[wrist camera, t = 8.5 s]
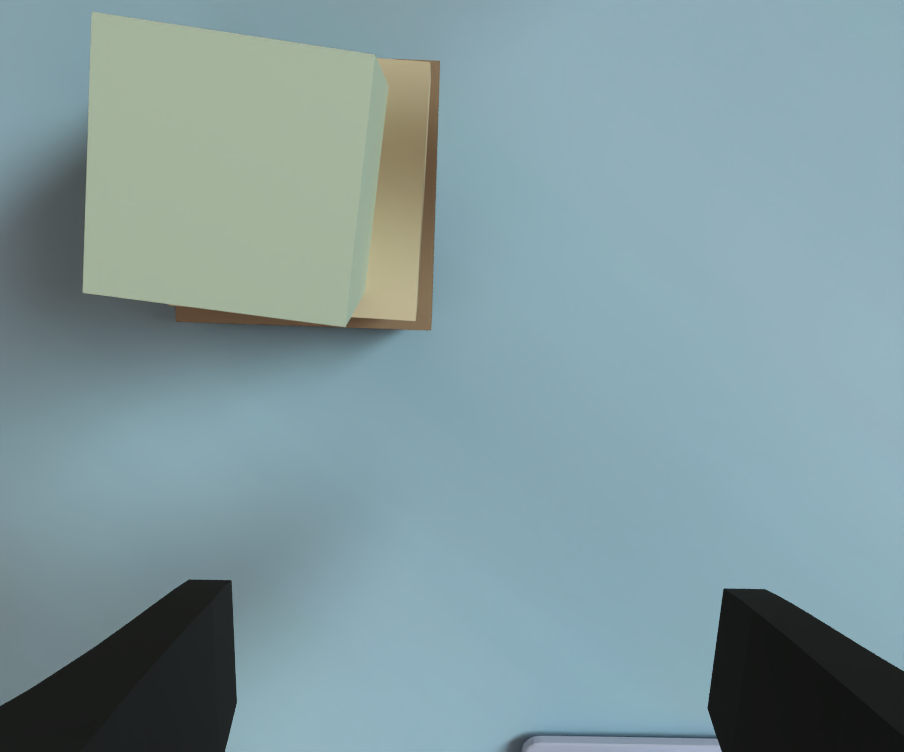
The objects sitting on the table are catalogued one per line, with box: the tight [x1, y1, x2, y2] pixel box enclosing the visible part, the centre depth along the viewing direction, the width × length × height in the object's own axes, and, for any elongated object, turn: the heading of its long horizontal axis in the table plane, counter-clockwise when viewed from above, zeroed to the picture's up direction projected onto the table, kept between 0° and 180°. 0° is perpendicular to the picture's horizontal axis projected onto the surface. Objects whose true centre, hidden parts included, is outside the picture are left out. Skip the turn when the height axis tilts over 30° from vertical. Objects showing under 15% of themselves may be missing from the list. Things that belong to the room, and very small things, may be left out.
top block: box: [83, 12, 389, 327], centre depth 14 cm, size 4×4×4 cm
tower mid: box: [169, 58, 431, 321], centre depth 17 cm, size 5×5×2 cm
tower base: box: [175, 59, 440, 330], centre depth 20 cm, size 6×6×2 cm
